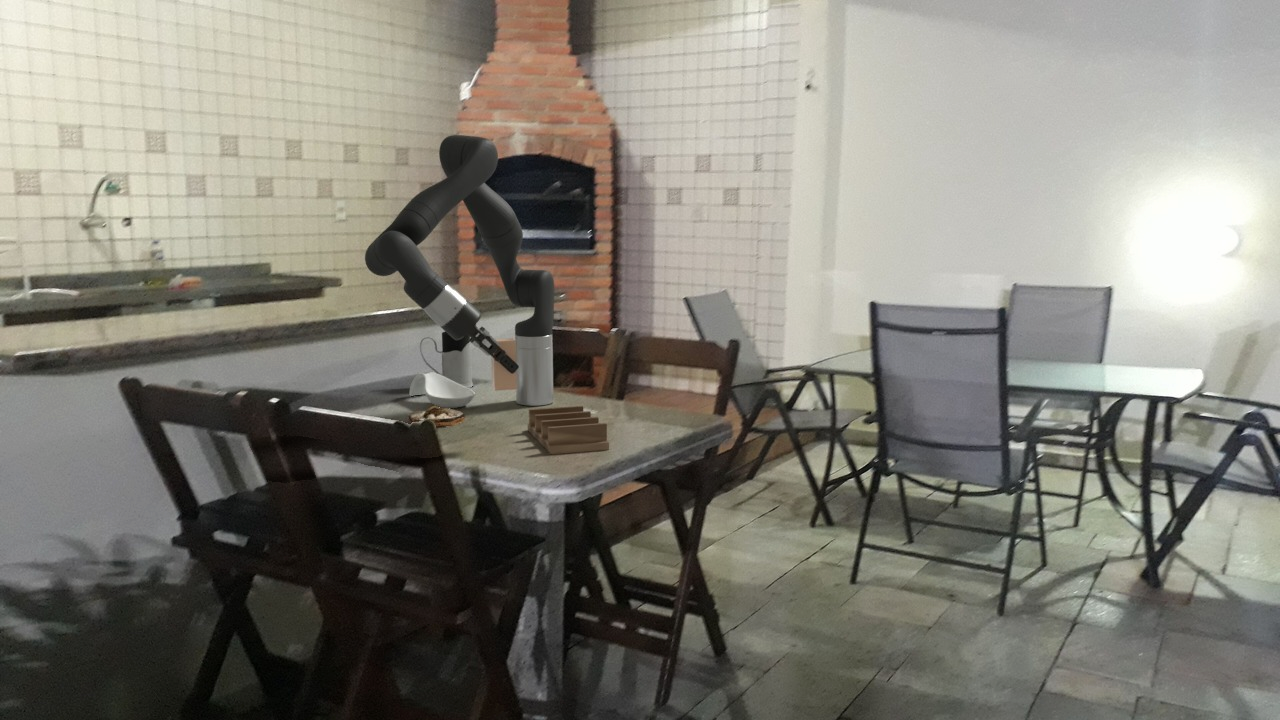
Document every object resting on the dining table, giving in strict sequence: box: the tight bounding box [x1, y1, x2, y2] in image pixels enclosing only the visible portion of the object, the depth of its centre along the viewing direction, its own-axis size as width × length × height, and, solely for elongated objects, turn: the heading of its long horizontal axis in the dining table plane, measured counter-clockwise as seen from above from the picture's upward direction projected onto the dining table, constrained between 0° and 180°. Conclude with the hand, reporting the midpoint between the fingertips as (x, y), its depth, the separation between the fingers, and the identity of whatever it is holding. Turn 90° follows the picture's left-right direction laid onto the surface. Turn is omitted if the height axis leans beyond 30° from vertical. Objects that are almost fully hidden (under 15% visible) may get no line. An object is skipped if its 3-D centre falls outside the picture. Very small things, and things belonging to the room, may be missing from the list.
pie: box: [408, 405, 466, 429], centre depth 215 cm, size 15×15×4 cm
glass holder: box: [419, 331, 474, 388], centre depth 256 cm, size 9×14×15 cm, turn 91°
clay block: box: [490, 338, 517, 392], centre depth 191 cm, size 4×4×10 cm
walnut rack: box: [527, 405, 610, 455], centre depth 198 cm, size 22×12×5 cm, turn 19°
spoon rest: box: [408, 371, 476, 409], centre depth 236 cm, size 24×12×7 cm, turn 41°
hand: (513, 368), depth 192 cm, fingers closed on clay block, 3 cm apart
